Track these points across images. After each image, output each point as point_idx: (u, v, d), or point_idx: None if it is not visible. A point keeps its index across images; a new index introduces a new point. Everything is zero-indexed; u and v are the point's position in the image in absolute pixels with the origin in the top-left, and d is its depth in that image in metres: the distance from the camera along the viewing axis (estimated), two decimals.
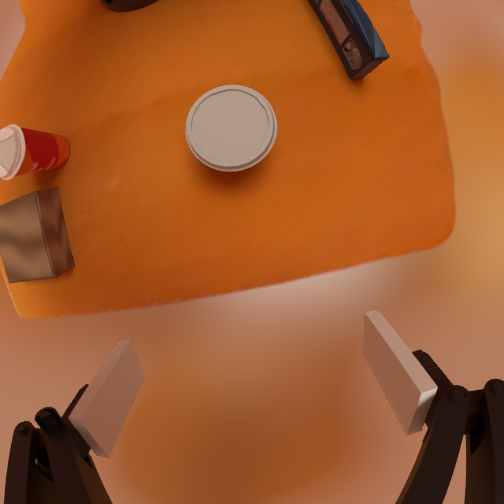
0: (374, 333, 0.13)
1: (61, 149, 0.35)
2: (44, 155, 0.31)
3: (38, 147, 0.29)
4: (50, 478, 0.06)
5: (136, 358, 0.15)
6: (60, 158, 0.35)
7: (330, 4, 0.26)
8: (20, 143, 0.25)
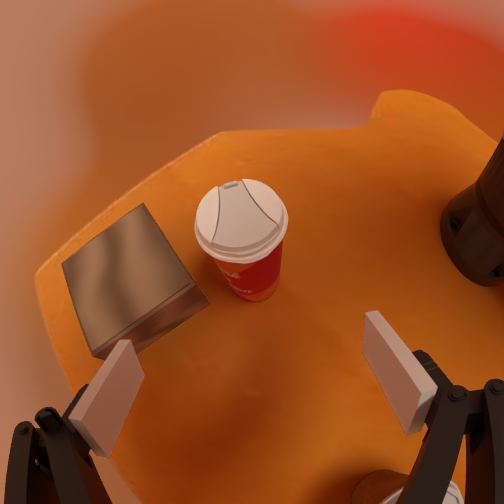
0: (374, 333, 0.13)
1: (265, 292, 0.31)
2: (252, 281, 0.26)
3: (263, 270, 0.25)
4: (50, 478, 0.06)
5: (136, 358, 0.15)
6: (251, 296, 0.31)
7: None
8: (266, 245, 0.21)
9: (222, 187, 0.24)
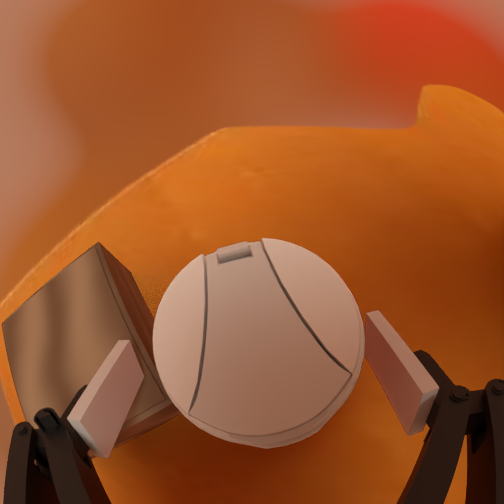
0: (375, 333, 0.13)
1: None
2: None
3: None
4: (49, 478, 0.06)
5: (135, 358, 0.15)
6: None
7: None
8: (318, 417, 0.08)
9: (214, 258, 0.10)
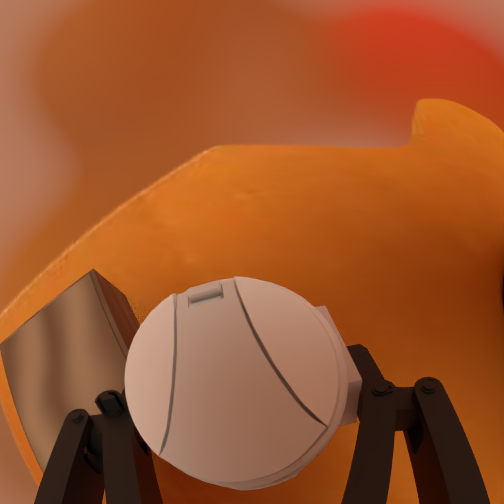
0: None
1: None
2: None
3: None
4: (97, 469, 0.08)
5: None
6: None
7: None
8: (292, 466, 0.07)
9: (184, 298, 0.09)
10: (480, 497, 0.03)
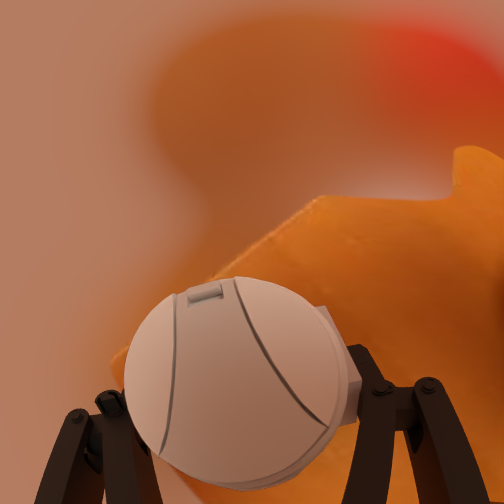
0: None
1: None
2: None
3: None
4: (97, 469, 0.08)
5: None
6: None
7: None
8: (292, 466, 0.07)
9: (184, 298, 0.09)
10: (481, 497, 0.03)
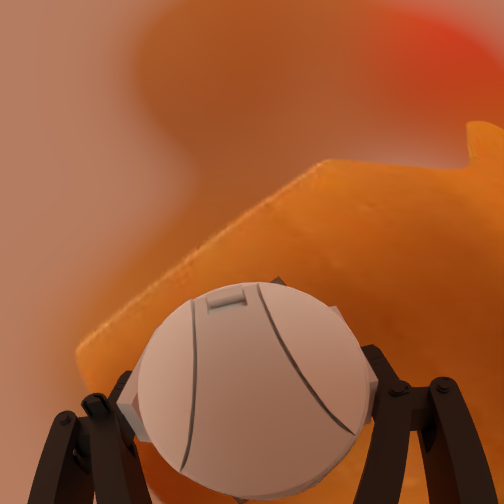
0: None
1: None
2: None
3: None
4: (86, 470, 0.07)
5: None
6: None
7: None
8: (317, 475, 0.06)
9: (203, 305, 0.09)
10: (490, 498, 0.03)
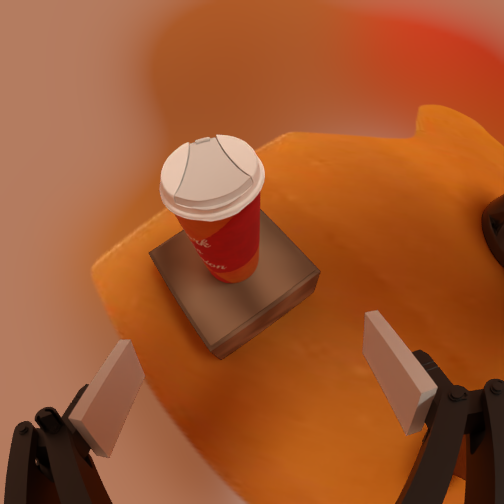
0: (374, 332, 0.13)
1: (242, 271, 0.27)
2: (225, 252, 0.23)
3: (236, 237, 0.21)
4: (50, 478, 0.06)
5: (136, 358, 0.15)
6: (226, 274, 0.27)
7: None
8: (236, 200, 0.18)
9: (193, 143, 0.20)
10: None
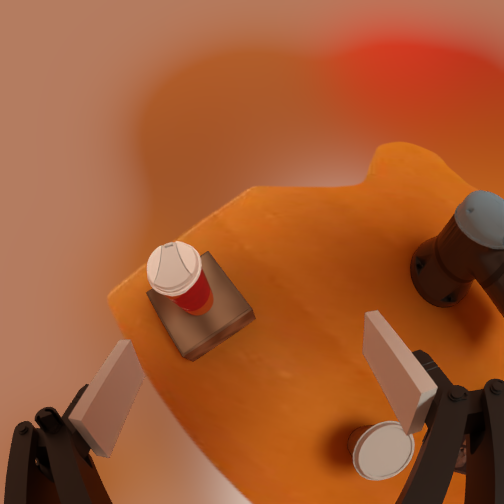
0: (374, 332, 0.13)
1: (200, 310, 0.44)
2: (186, 304, 0.40)
3: (189, 298, 0.38)
4: (50, 478, 0.06)
5: (136, 358, 0.15)
6: (191, 312, 0.44)
7: None
8: (184, 286, 0.35)
9: (163, 246, 0.37)
10: None
